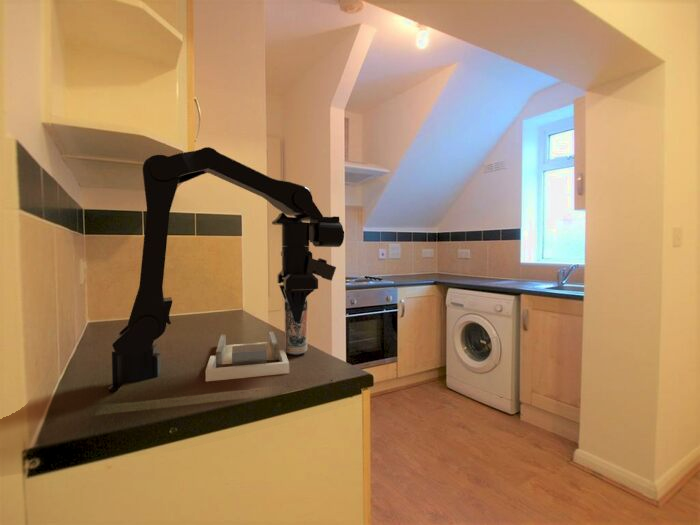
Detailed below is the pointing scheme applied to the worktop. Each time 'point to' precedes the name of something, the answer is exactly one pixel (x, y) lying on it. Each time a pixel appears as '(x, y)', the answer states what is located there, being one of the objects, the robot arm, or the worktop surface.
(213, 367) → the tray
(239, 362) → the grey block
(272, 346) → the slot plate
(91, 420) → the worktop surface
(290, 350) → the beer can
